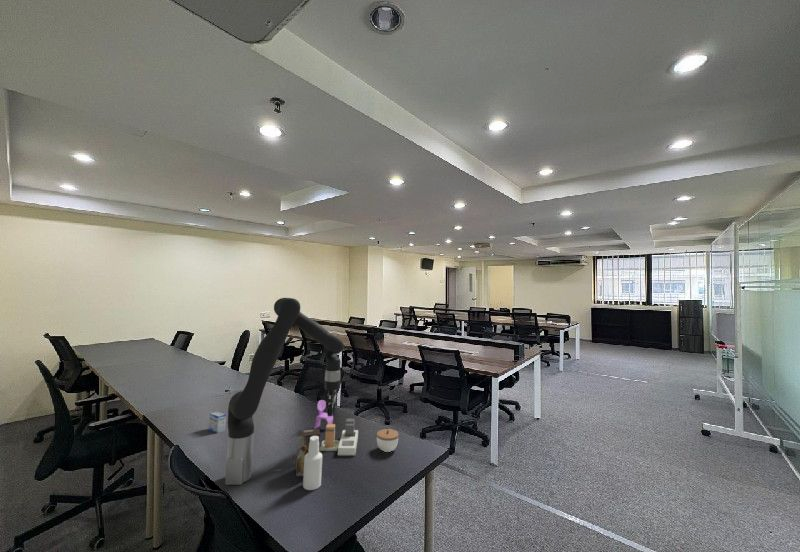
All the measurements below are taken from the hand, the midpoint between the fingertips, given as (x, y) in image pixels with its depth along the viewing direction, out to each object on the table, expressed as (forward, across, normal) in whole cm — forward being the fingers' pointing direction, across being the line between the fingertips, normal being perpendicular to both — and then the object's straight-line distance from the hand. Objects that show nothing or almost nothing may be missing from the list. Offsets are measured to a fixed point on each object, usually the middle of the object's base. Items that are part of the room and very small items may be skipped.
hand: (331, 412), depth 155 cm
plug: (+16, 0, 0) cm, 16 cm away
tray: (+17, 0, 0) cm, 17 cm away
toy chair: (+17, +23, +7) cm, 29 cm away
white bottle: (+17, -31, +2) cm, 35 cm away
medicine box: (+17, +20, +63) cm, 68 cm away
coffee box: (+17, -21, +6) cm, 28 cm away
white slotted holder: (+17, +1, -9) cm, 19 cm away
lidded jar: (+17, -2, -28) cm, 33 cm away
